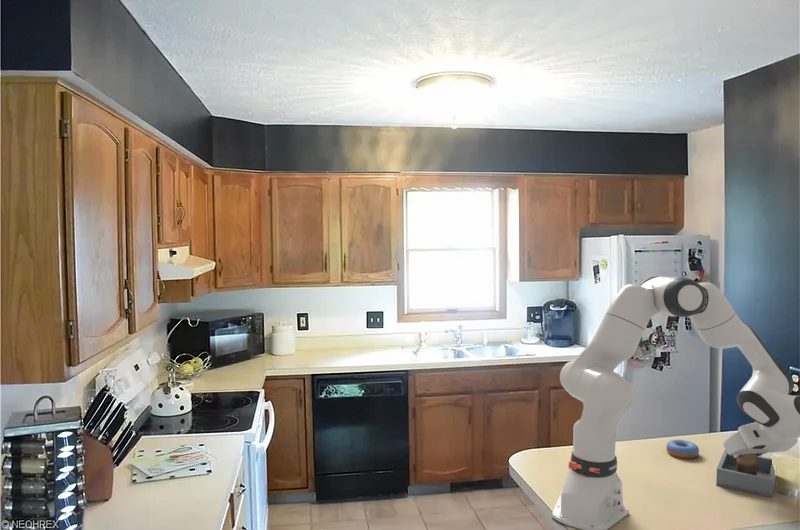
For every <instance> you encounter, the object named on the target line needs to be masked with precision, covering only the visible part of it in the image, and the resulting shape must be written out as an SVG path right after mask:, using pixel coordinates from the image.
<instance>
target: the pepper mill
mask: <svg viewBox="0 0 800 530" xmlns="http://www.w3.org/2000/svg"><path fill="white" fill-rule="evenodd" d="M737 472H741V473H746V474H751V475H756V476H757V453H755V454H742V456H741V457H740V458H737Z"/></svg>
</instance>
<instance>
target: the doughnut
mask: <svg viewBox="0 0 800 530" xmlns="http://www.w3.org/2000/svg"><path fill="white" fill-rule="evenodd" d="M666 451H667V453H669V455H671V456H673V457H675V458H678V457H679V459H684V460H689V459H690V460H691V459H695V458H697V457H698V456H699V452H700V448H699V446H698V445H697V444H696V443H694V442H692V441H688V440H685V439H673V440H669V441H668V442H667V443H666Z"/></svg>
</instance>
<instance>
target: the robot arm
mask: <svg viewBox="0 0 800 530" xmlns="http://www.w3.org/2000/svg"><path fill="white" fill-rule="evenodd" d="M656 314H659V315H663V316H665V317H678V318H689V319H690V321H691V323H692V325H693V327H694V329H695V330H696V332H697V334H698V336H699V337H700V338H701V340H702V341H703V342H704V343H705V345H707V346H709V347H711V348H715V349H718V350H719V349H721V350H722V349H723V350H724V349H731V348H735V347H736V348H738V349H739V350H740V352H741V353H742V354H743V356H744V357H745V359H746V360H747V361H748V363H749V365H751V367H752V374H751V377H750V378H749V380H748V381H747V382H746V383H745V384H744V385H743V387H742V388H741V389H740V391H739V392H738V393H737V395H736V403H737V405H738V408H739V409H740V410H741V412H743V414H744V415H746V416H747V417H748V418H750V419H751V420H752V421H754V422H750V423H747V424H746V423H745V424H743V425H741V426H739V427H738V428H737V429H738V430H737V431H735V432H734V433H732V434H731V435H730V436H728V438H726V439H725V441H724V442H723V447H724V450H726V452H727V453H728V455H733V456H734V458H740V457H741V456H742V454H755V453H757V456H761V457H762V455H763V456H764V455H765V454H768V453H777V452H778V453H780V452H788V450H791V449H792V448H793V447H794V446H796V444H797V443H798V439H799V438H800V395H798V394H797V395H791V393H792V392H793V390H794V388H795V381H794V379H793V377H792V375H791V373H789V372H788V371H787V370H786V368H785V367H783V365H781V364H780V363H779V361H777V359H776V358H775V357H774V356H773V355H772V353H771V351H770V350H769V349H768V347H767V346H766V345H765V344H764V342H763V340H761V338H760V337H759V335H758V334H757V333H756V332H755V331H754V329H753V328H752V327H751V326H750V325H749V324H748V323H746V322H744V321H742V320H741V319H740V317H739V315H738V314H737V313H736V312H735V310H734V308H733V306H732V304H731V303H730V301H729V300H728V299H727V297H726V296H725V295H724V294H723V292H722V291H721V290H720V288H719V287H718V286H717V285H715V284H714V283H712V282H705V281H704V282H697V281H695V280H694V279H691V278H688V277H684V276H683V277H677V276H673V275H663V276H651V277H649V278H646V279H645V280H643V281H642V282H641V283H639V284H635V283H634V284H633V283H631V284H626V285H623V286H622V287H621V288H620V290H619V291H618V292H617V294H616V295H615V297H614V298H613V299H612V302H610V305H609V306H608V308H607V310H606V312H605V314H604V316H603V318H602V320H601V322H600V324H599V326H598V327H597V328H598V329H597V330H596V332H595V334H594V336H593V337H592V340H590V342H589V343H588V345H587V346H586V347H585V348H584V349H583V351H581V352H580V354H579V355H578V356H577V357H575V358H574V359H573V360H572V359H571V360H570V361H568V362H566V363H565V364H564V365H563V367H562V368H561V370H560V373H559V381H560V385H561V386H562V388H564V390H565V391H566V392H567V393H568V394H569V396H571V397H573V398H575V399H576V400H579V401H580V402H582V404H583V409H582V413H581V416H580V419H578V420H577V421H576V422H575V423H574V424H573V430H572V431H573V433H572V434H573V435H572V436H573V437H572V438H573V442H572V445H573V447H572V451H571V456H570V460H569V461H568V466H567V467H568V472H567V475H566V478H565V482H564V485H563V487H562V491H560V492H559V494H558V498H557V500H556V502H555V505H554V508H553V510H552V512H551V518H553V519H554V520H556V521H557V522H559V523H562V524H564V525H566V526H569V527H573V528H575V529H579V530H609V529H610V528H611V527H612V526H614V525H616V524H618V522H620V521H621V520H623V518H625V517H626V516H627V515H629V514H630V509H629V508H628V507H627V506H626V505H624V494H623V493H624V491H623V480H622V479H621V478H620V477H619V475H618V473H617V471H618V459H617V455H616V439H617V438H616V436H617V427H618V425H619V421H620V418H621V417H622V415H623V414H625V413H626V412H627V411H628V410H629V409H630V408H631V406H632V405H633V404H634V403H633V402H634V398H635V392H634V388H633V386H632V384H631V383H630V382H629V381H628V380H627V379H626V378H624V377H623V376H622V375H620V374H619V373H618V372H615V371H614V370H616V368H617V367H619V365H621V364H622V363H623V362H625V361H627V360H629V359H631V358H632V357H633V356H634V354H635V352H636V351H637V349H638V346H639V344H640V342H641V340H642V338H643V336H644V333H645V331H646V330H647V326H648V324H649V322H650V321H651V319H652V318H653V316H655V315H656Z"/></svg>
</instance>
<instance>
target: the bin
mask: <svg viewBox="0 0 800 530" xmlns="http://www.w3.org/2000/svg"><path fill="white" fill-rule="evenodd" d="M772 459H773V458H770V457H766V456H762V455H761V456H757V476H756V475H751V474H746V473H741V472H737V458H734V456H733V455H728V453H727V452H726V450H725V449H724V451H723V453H722V456H721V458H720V460H719V463H718V465H717V467H716V483H715V484H716V486H719V487H724V488H728V489H732V490H738V491H740V492H741V491H742V492H747V493H751V494H756V495H759V496H764V497H769V498H773V495H774V490H775V485H774V484H775V483H776V479H775V470H774V467H773V464H772Z"/></svg>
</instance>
